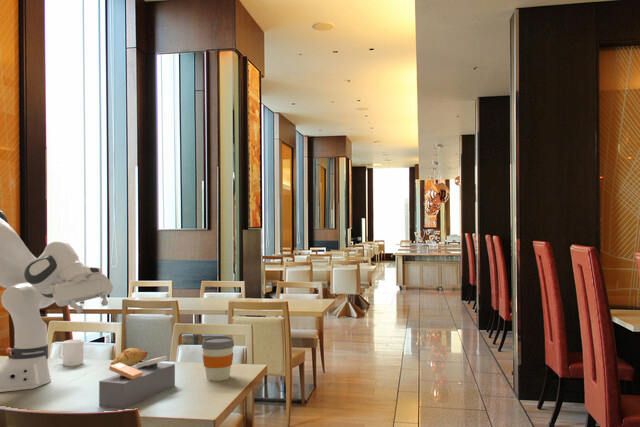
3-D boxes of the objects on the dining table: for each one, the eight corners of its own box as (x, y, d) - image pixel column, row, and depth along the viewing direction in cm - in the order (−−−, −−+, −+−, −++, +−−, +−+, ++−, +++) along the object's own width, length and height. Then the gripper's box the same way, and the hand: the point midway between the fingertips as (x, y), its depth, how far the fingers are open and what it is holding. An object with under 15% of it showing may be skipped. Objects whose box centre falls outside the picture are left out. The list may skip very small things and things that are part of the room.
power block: (99, 405, 176) (99, 377, 176) (152, 383, 202) (152, 359, 203) (123, 408, 172) (123, 380, 173) (174, 385, 199) (174, 361, 199)
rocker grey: (137, 367, 193) (136, 363, 194) (145, 364, 198) (145, 360, 198) (159, 362, 190) (158, 358, 191) (167, 359, 195) (166, 355, 195)
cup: (73, 366, 230) (74, 343, 231) (51, 365, 234) (52, 342, 234) (87, 362, 238) (87, 339, 238) (66, 360, 242) (66, 338, 242)
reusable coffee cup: (201, 383, 202) (201, 343, 203) (202, 374, 214) (202, 337, 215) (234, 380, 205) (234, 341, 205) (233, 372, 217) (233, 335, 218)
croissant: (116, 377, 226) (123, 361, 224) (100, 364, 229) (107, 348, 228) (150, 365, 245) (157, 350, 244) (135, 353, 249) (141, 338, 247)
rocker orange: (108, 369, 181) (109, 365, 180) (119, 366, 185) (120, 362, 185) (132, 379, 177) (133, 375, 177) (141, 375, 182) (142, 371, 182)
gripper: (49, 278, 178) (68, 310, 174) (104, 267, 195) (122, 295, 190) (43, 289, 181) (61, 321, 177) (98, 277, 198) (115, 306, 193)
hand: (93, 308), depth 184 cm, fingers open, 8 cm apart
